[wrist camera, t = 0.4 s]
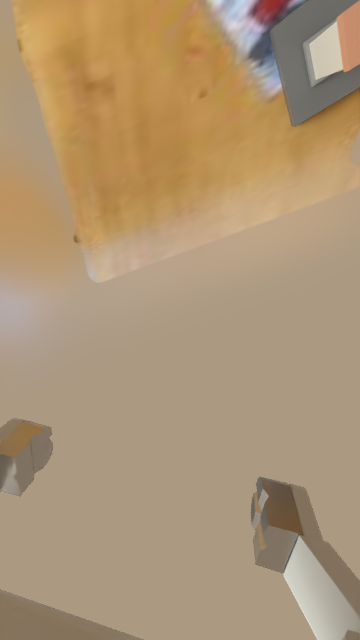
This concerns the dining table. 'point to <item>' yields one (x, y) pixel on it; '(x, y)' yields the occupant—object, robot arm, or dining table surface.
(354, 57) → the fader knob
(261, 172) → the dining table surface
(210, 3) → the dining table surface
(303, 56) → the fader console
